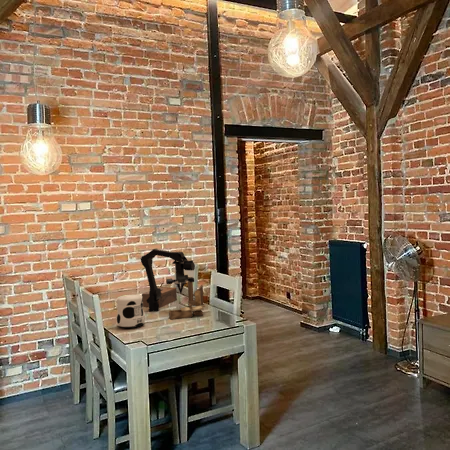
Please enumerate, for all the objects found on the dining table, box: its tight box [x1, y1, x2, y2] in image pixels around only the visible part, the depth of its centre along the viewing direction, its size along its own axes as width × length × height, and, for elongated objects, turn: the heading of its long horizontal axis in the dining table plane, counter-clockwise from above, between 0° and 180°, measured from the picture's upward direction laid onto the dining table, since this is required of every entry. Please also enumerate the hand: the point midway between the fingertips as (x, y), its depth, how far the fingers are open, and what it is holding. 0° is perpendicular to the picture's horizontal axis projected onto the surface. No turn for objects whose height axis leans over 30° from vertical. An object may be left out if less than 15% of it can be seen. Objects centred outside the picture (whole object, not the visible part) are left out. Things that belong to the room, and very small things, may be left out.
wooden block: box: [187, 281, 204, 307], centre depth 323 cm, size 4×11×18 cm, turn 104°
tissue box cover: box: [141, 286, 178, 309], centre depth 333 cm, size 26×14×10 cm, turn 158°
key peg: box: [194, 290, 202, 307], centre depth 303 cm, size 4×4×14 cm
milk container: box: [115, 294, 146, 329], centre depth 273 cm, size 17×17×18 cm
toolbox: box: [168, 309, 204, 321], centre depth 292 cm, size 22×10×4 cm, turn 105°
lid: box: [180, 304, 207, 312], centre depth 292 cm, size 17×8×3 cm, turn 105°
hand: (180, 293), depth 304 cm, fingers closed
